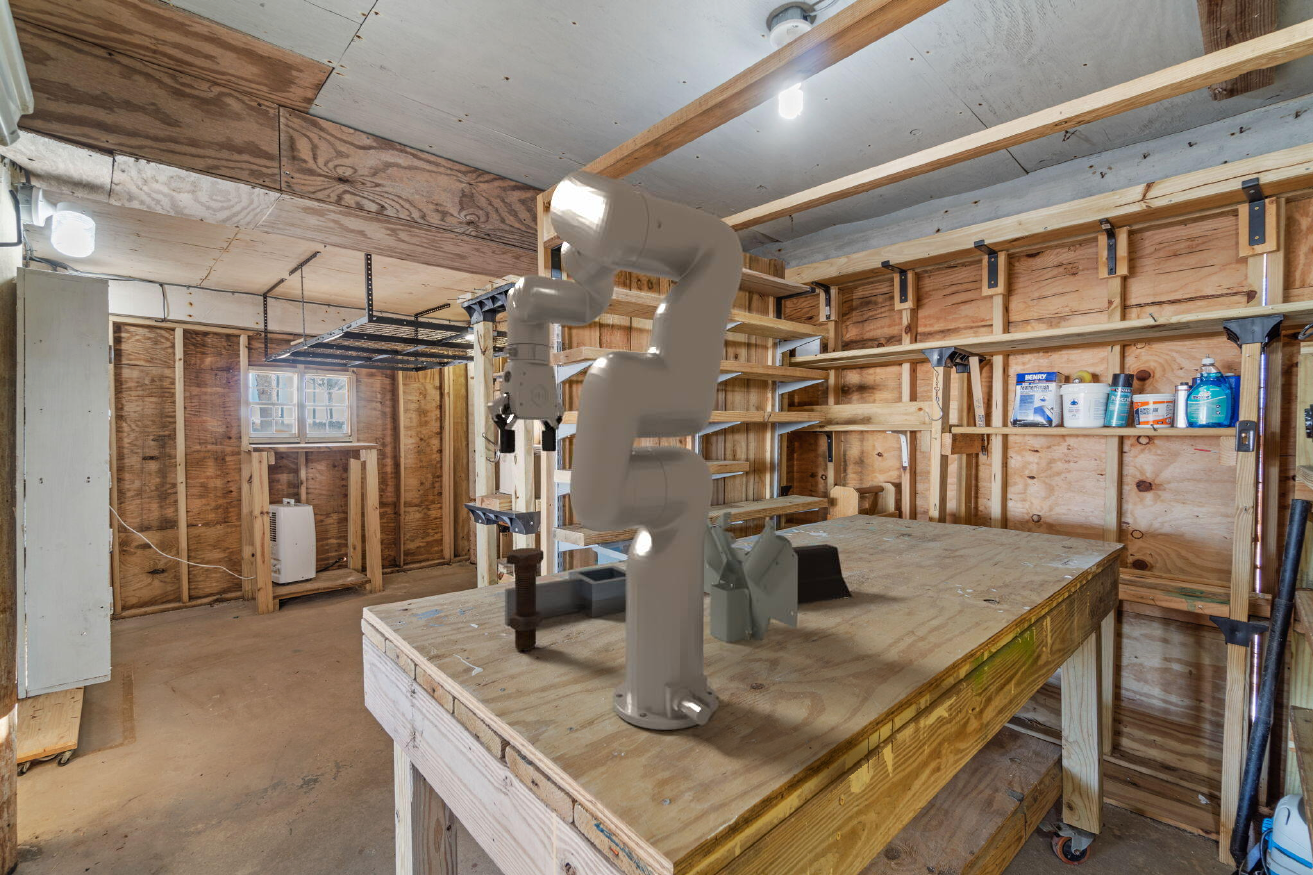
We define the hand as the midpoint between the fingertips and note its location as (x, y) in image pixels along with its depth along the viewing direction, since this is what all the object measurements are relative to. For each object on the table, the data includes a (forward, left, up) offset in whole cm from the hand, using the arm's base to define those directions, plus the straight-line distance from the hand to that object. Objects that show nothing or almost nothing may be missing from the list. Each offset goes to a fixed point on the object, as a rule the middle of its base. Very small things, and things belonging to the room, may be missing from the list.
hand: (529, 452), depth 101 cm
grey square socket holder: (-3, -14, -30) cm, 33 cm away
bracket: (-28, -25, -30) cm, 48 cm away
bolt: (-15, +6, -30) cm, 34 cm away
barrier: (-19, -48, -30) cm, 59 cm away
